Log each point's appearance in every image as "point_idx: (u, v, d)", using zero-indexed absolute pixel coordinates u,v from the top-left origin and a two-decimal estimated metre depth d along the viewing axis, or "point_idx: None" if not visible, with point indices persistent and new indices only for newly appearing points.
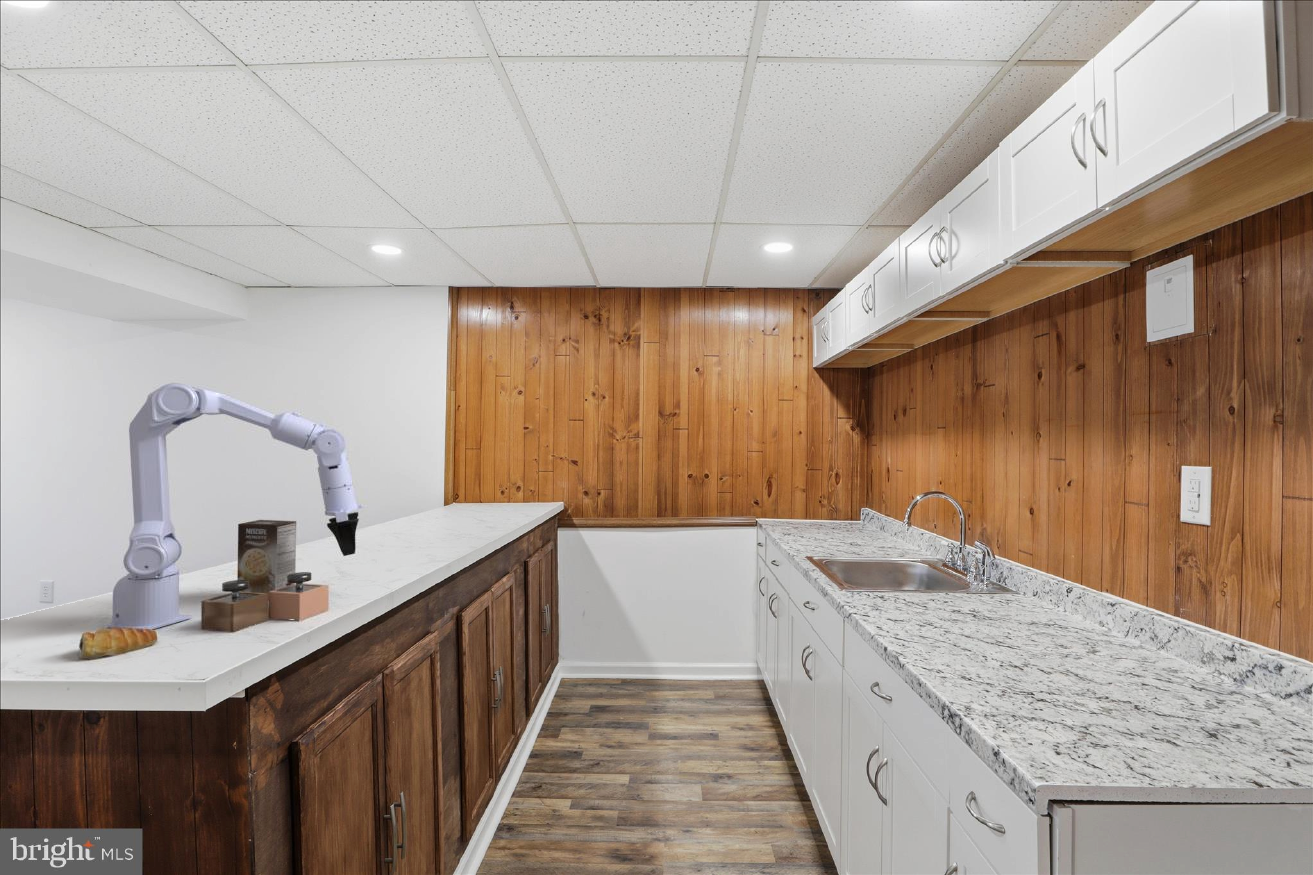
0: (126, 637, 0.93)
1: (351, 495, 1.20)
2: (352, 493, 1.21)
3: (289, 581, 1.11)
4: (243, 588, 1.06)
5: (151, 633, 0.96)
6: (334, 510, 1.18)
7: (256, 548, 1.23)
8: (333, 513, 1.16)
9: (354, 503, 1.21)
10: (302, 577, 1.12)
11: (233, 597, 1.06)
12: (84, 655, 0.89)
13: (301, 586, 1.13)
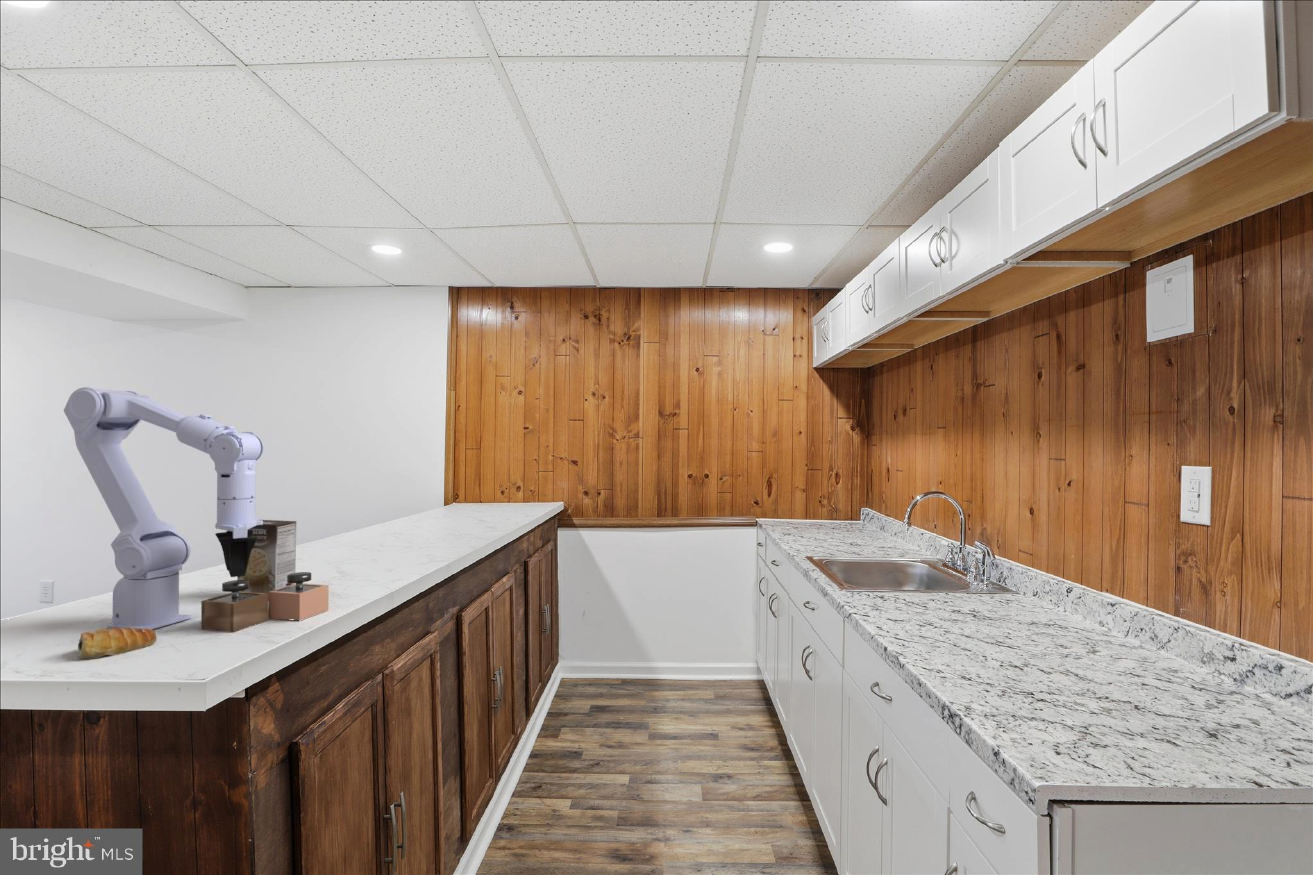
0: (125, 637, 0.93)
1: (252, 509, 1.07)
2: (253, 507, 1.07)
3: (289, 581, 1.11)
4: (243, 588, 1.06)
5: (150, 633, 0.96)
6: (229, 524, 1.04)
7: (256, 548, 1.23)
8: (229, 528, 1.02)
9: (253, 518, 1.07)
10: (302, 577, 1.12)
11: (233, 597, 1.06)
12: (83, 655, 0.89)
13: (301, 586, 1.13)
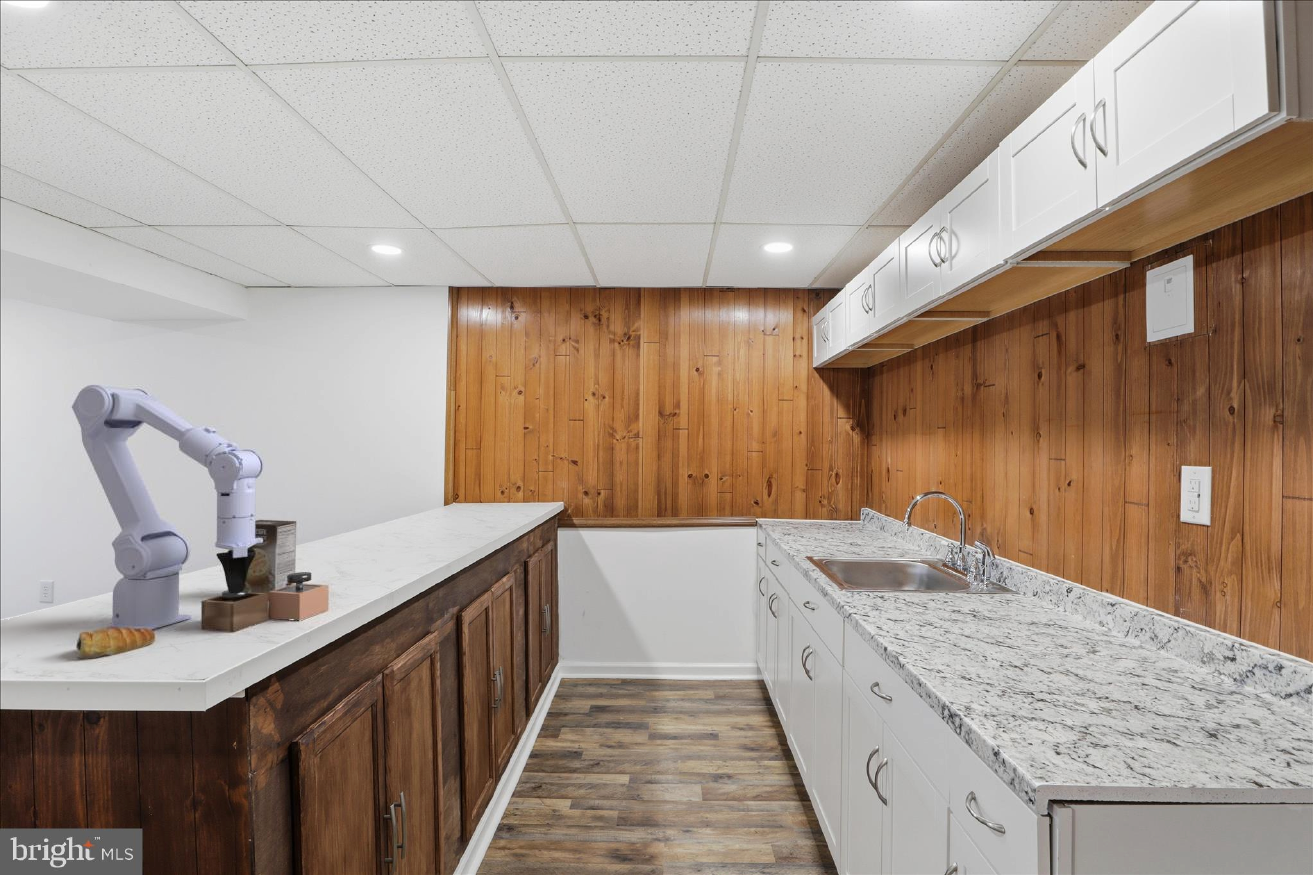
0: (124, 636, 0.93)
1: (252, 527, 1.07)
2: (253, 525, 1.07)
3: (289, 581, 1.11)
4: (243, 597, 1.06)
5: (149, 632, 0.96)
6: (229, 543, 1.04)
7: (256, 548, 1.23)
8: (229, 547, 1.02)
9: (253, 537, 1.07)
10: (302, 577, 1.12)
11: None
12: (82, 654, 0.89)
13: (301, 586, 1.13)
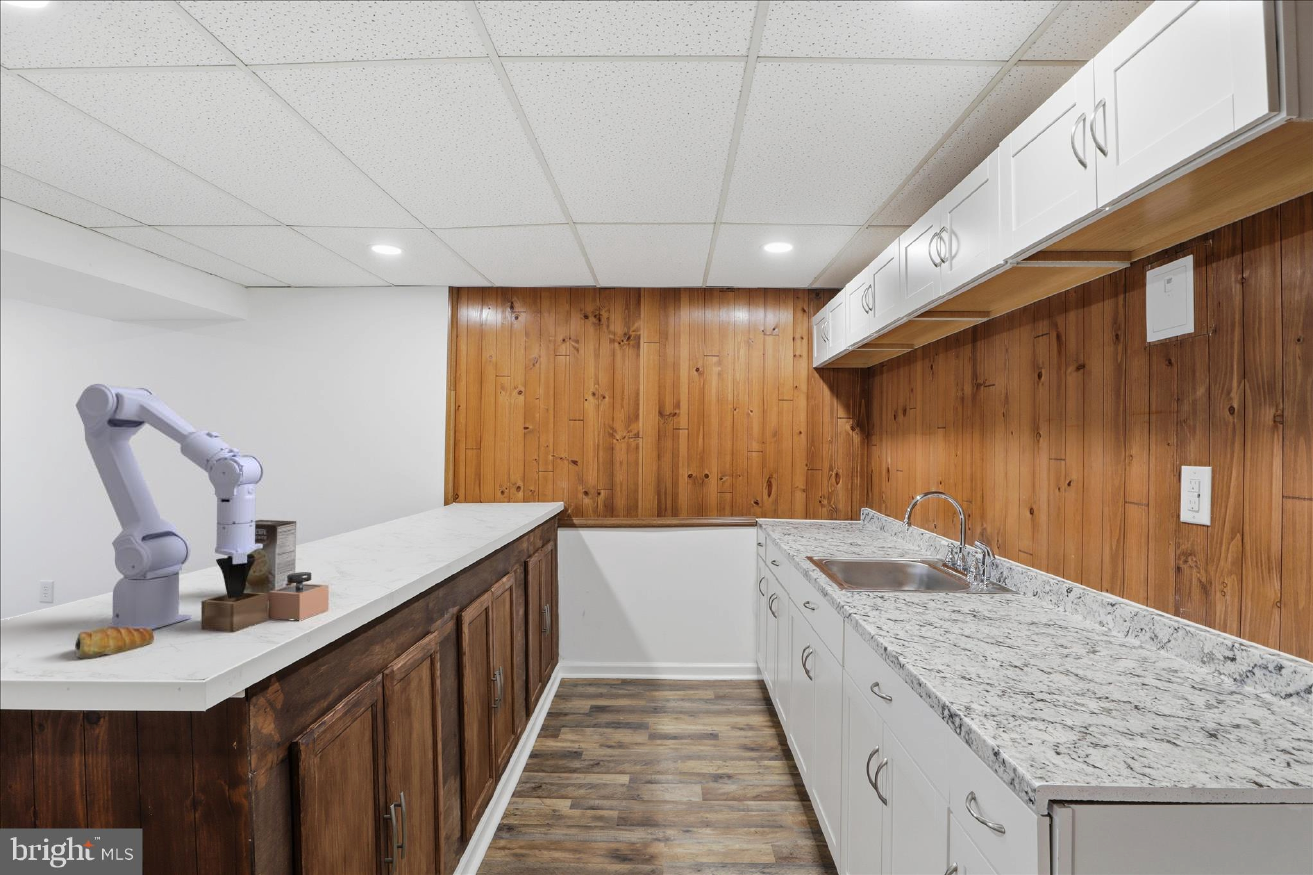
0: (123, 636, 0.93)
1: (252, 533, 1.07)
2: (253, 531, 1.07)
3: (289, 581, 1.11)
4: None
5: (148, 632, 0.97)
6: (229, 549, 1.04)
7: None
8: (228, 553, 1.02)
9: (253, 542, 1.07)
10: (302, 577, 1.12)
11: None
12: (82, 654, 0.89)
13: (301, 586, 1.13)
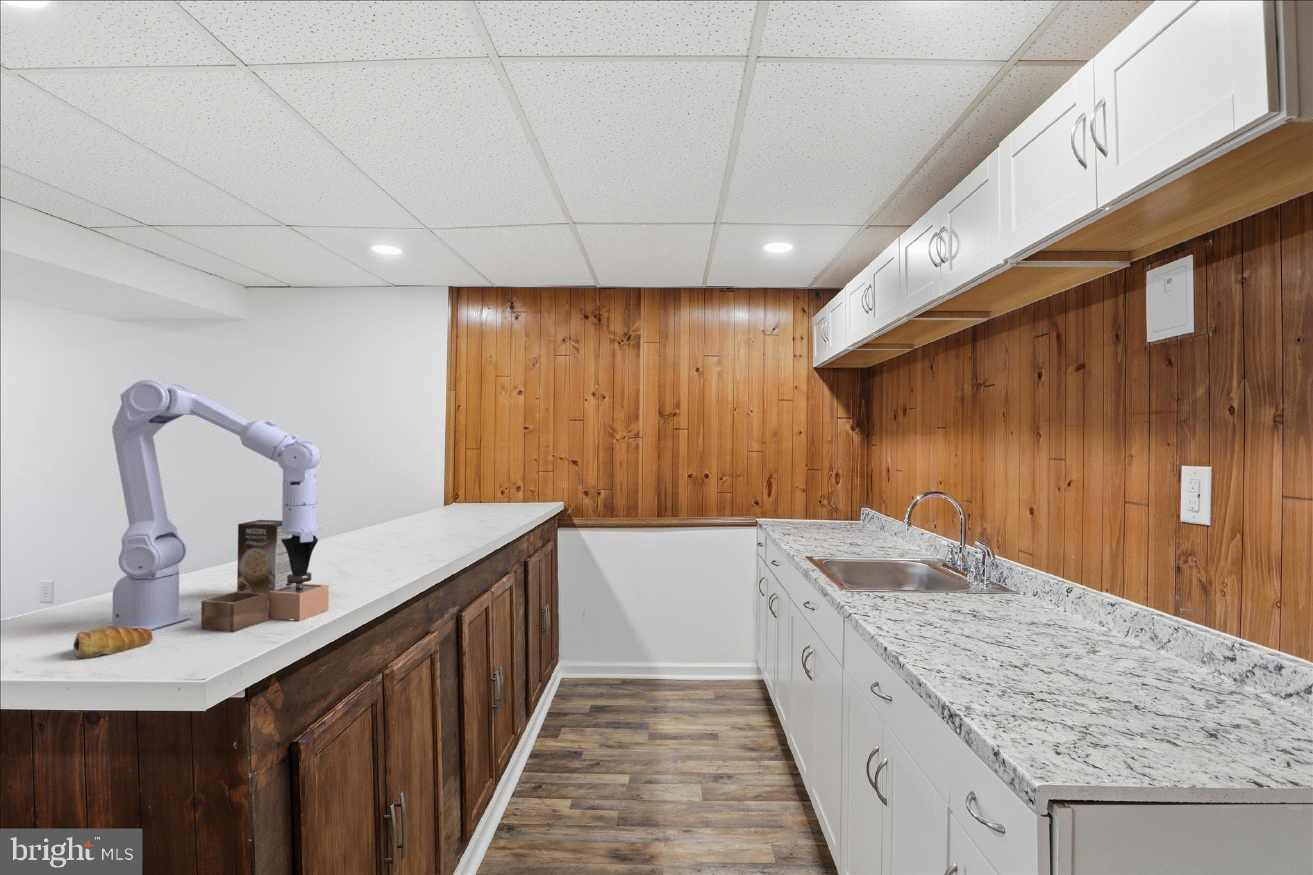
0: (122, 636, 0.94)
1: (315, 514, 1.13)
2: (315, 513, 1.14)
3: (289, 581, 1.11)
4: None
5: (147, 632, 0.97)
6: (295, 529, 1.10)
7: (256, 548, 1.23)
8: (295, 532, 1.08)
9: (315, 523, 1.14)
10: (302, 577, 1.12)
11: None
12: (81, 654, 0.90)
13: (301, 587, 1.13)
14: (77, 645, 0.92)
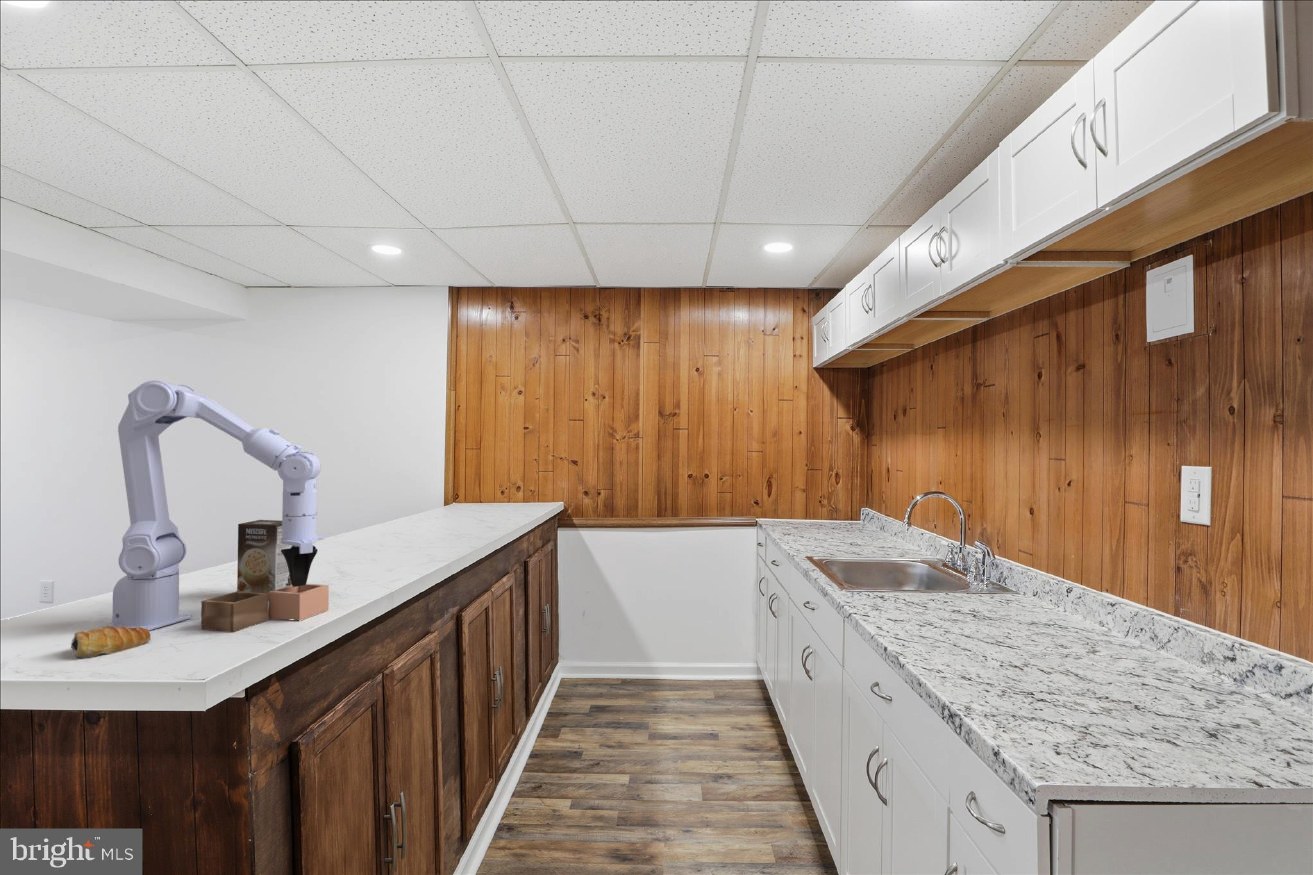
0: (120, 635, 0.94)
1: (314, 525, 1.13)
2: (315, 523, 1.14)
3: None
4: None
5: (145, 631, 0.97)
6: (294, 540, 1.10)
7: (256, 548, 1.23)
8: (295, 543, 1.08)
9: (315, 534, 1.14)
10: None
11: None
12: (80, 653, 0.90)
13: None
14: (75, 645, 0.92)
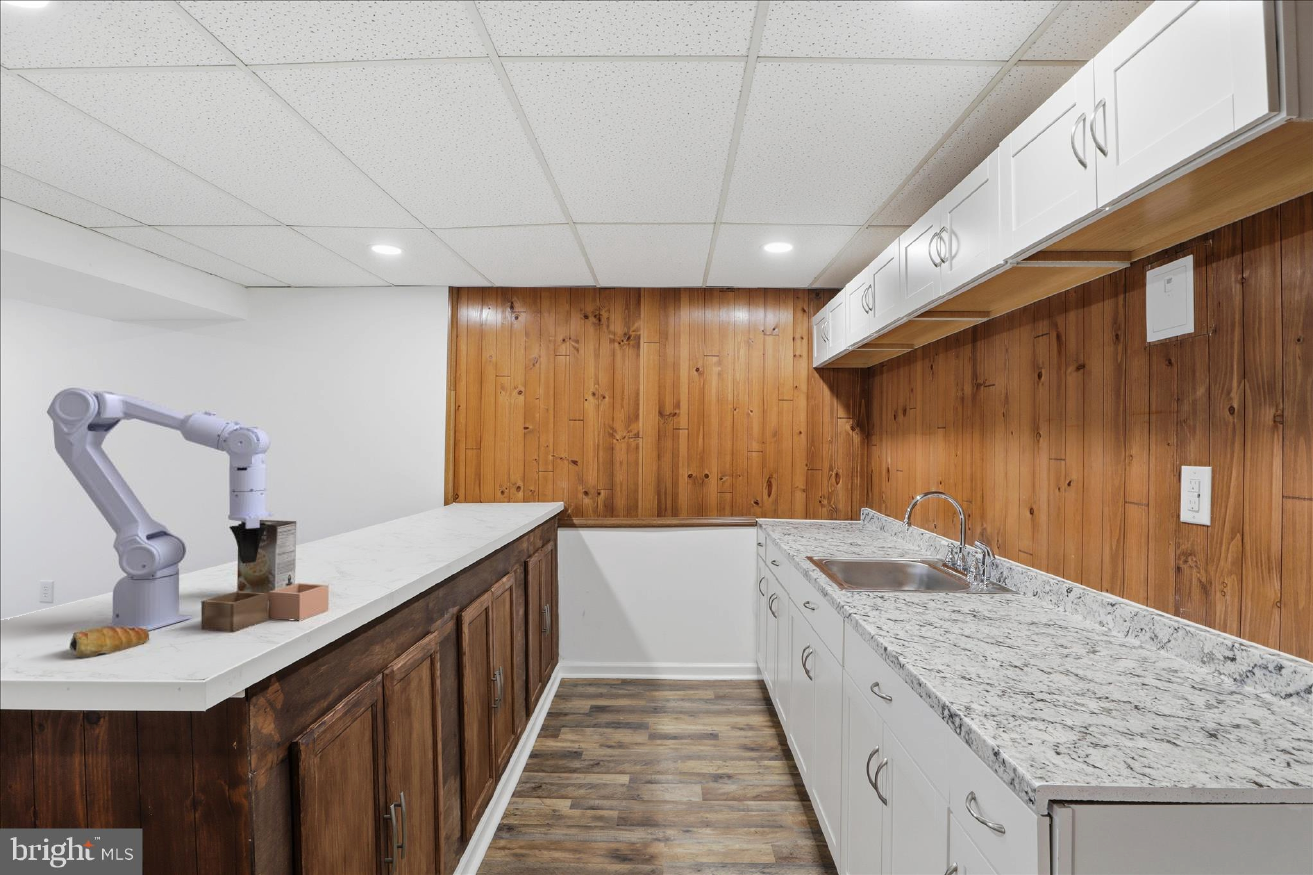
0: (119, 635, 0.94)
1: (263, 501, 1.11)
2: (264, 499, 1.12)
3: None
4: None
5: (143, 631, 0.97)
6: (242, 515, 1.08)
7: None
8: (242, 518, 1.06)
9: (264, 510, 1.12)
10: None
11: None
12: (79, 653, 0.90)
13: None
14: (74, 645, 0.92)
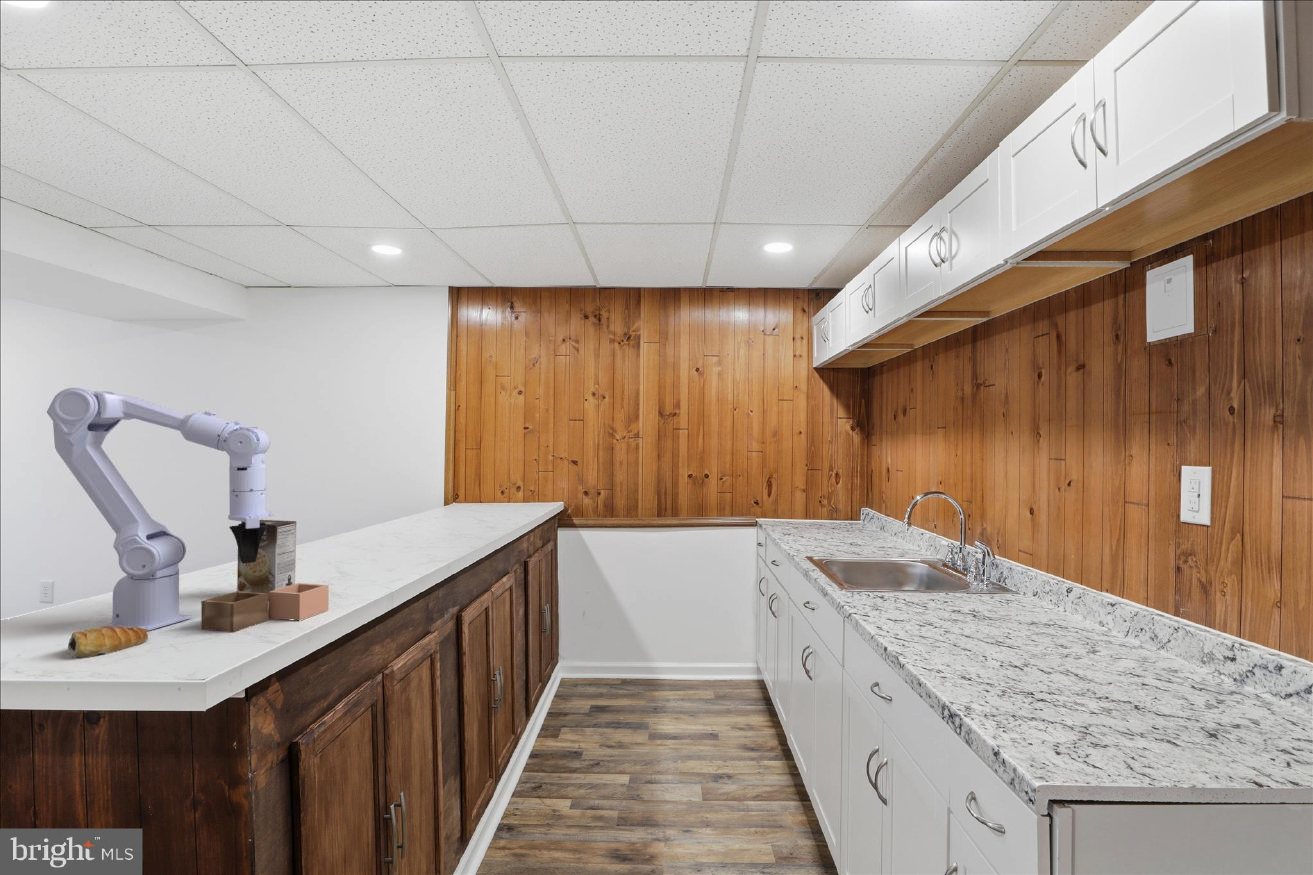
0: (118, 635, 0.94)
1: (263, 501, 1.11)
2: (264, 499, 1.12)
3: None
4: None
5: (142, 631, 0.97)
6: (242, 515, 1.08)
7: None
8: (242, 518, 1.06)
9: (264, 510, 1.12)
10: None
11: None
12: (78, 653, 0.90)
13: None
14: (72, 645, 0.92)
